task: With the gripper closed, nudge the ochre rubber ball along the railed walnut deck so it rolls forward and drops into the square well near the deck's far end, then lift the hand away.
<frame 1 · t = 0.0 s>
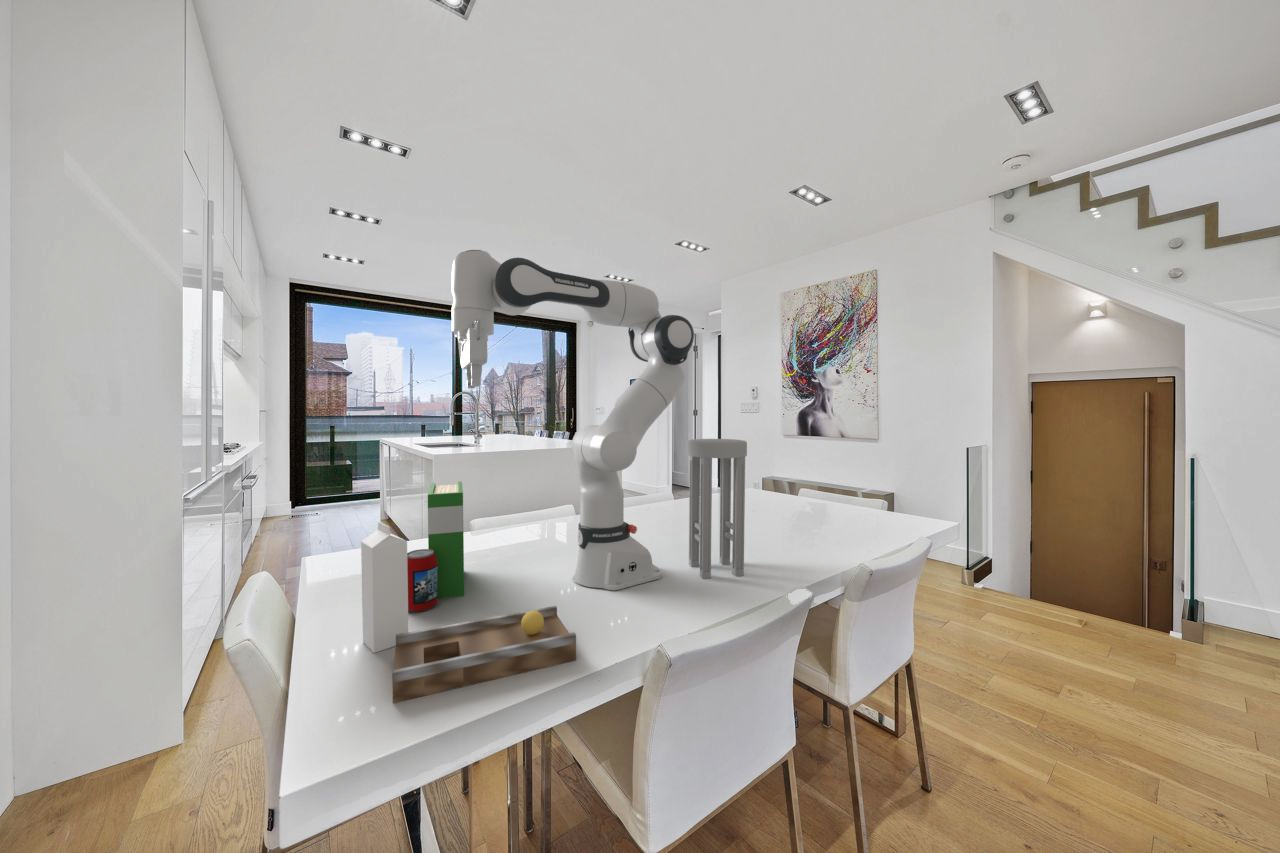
hand: (473, 387, 105), 48 cm above the table, fingers open, 8 cm apart
beverage can: (420, 608, 102), on the table
hardback book: (447, 585, 116), on the table
milk: (385, 642, 87), on the table
ball: (532, 622, 84), point 5 cm above the table, touching deck
deck: (486, 660, 81), on the table
stool: (715, 570, 127), on the table
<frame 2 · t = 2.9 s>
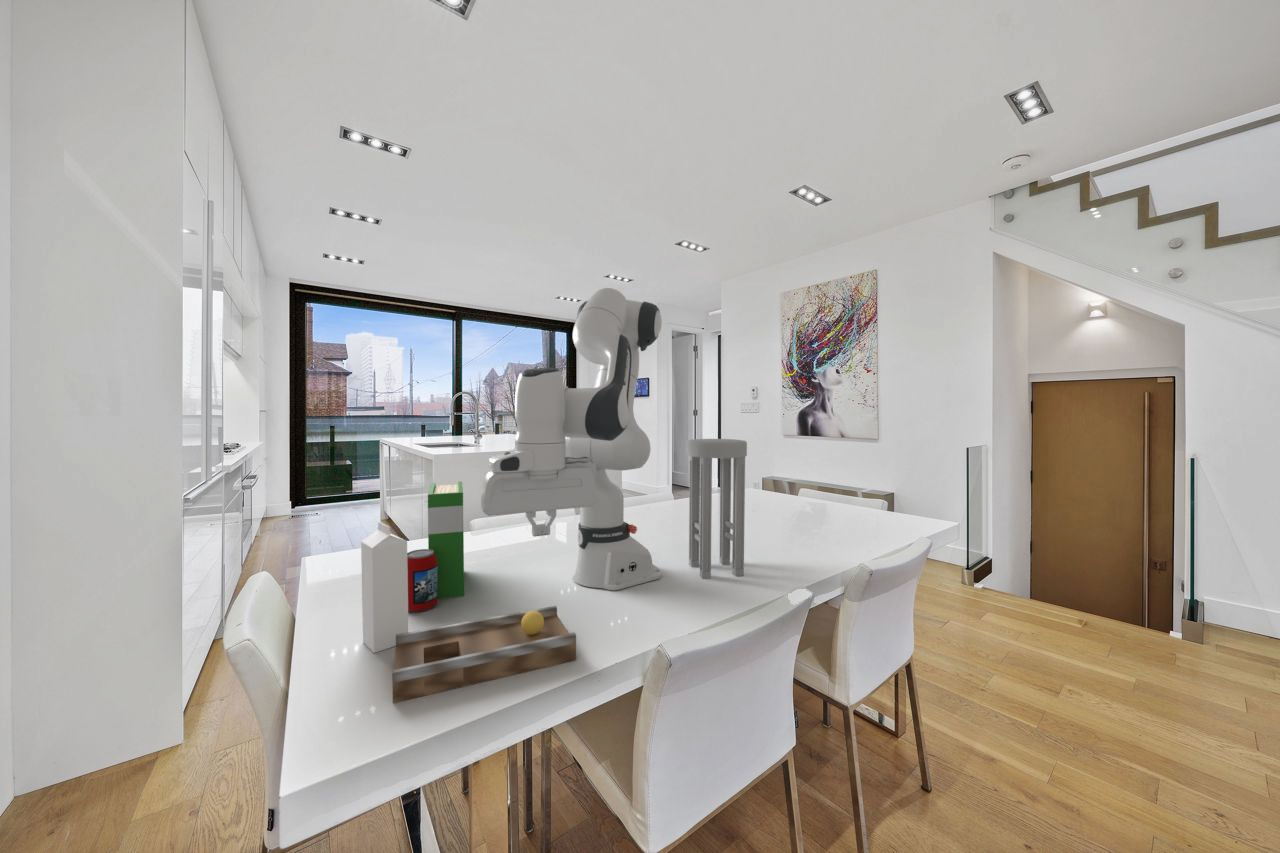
hand: (541, 535, 85), 21 cm above the table, fingers closed
nothing on the table moved.
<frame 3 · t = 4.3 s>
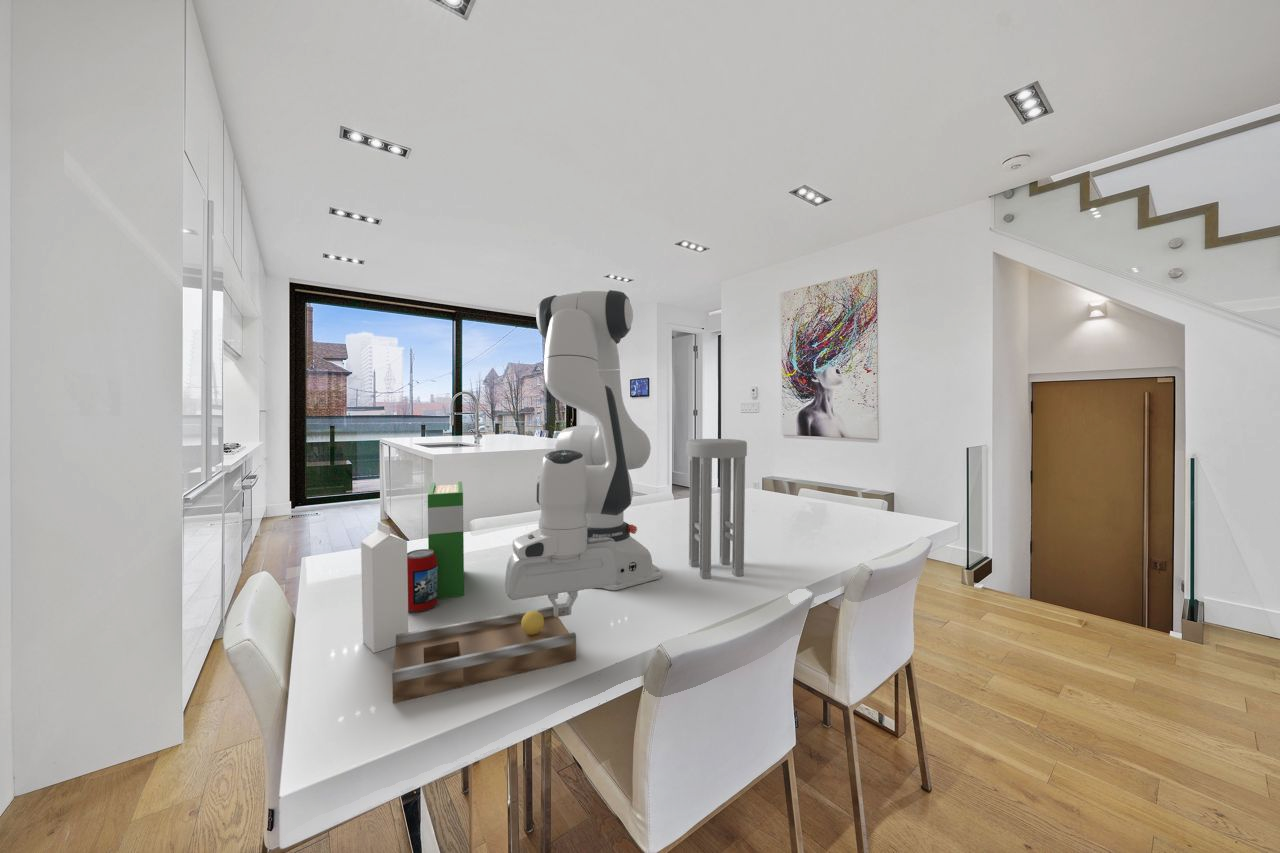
hand: (562, 615, 86), 5 cm above the table, fingers closed
nothing on the table moved.
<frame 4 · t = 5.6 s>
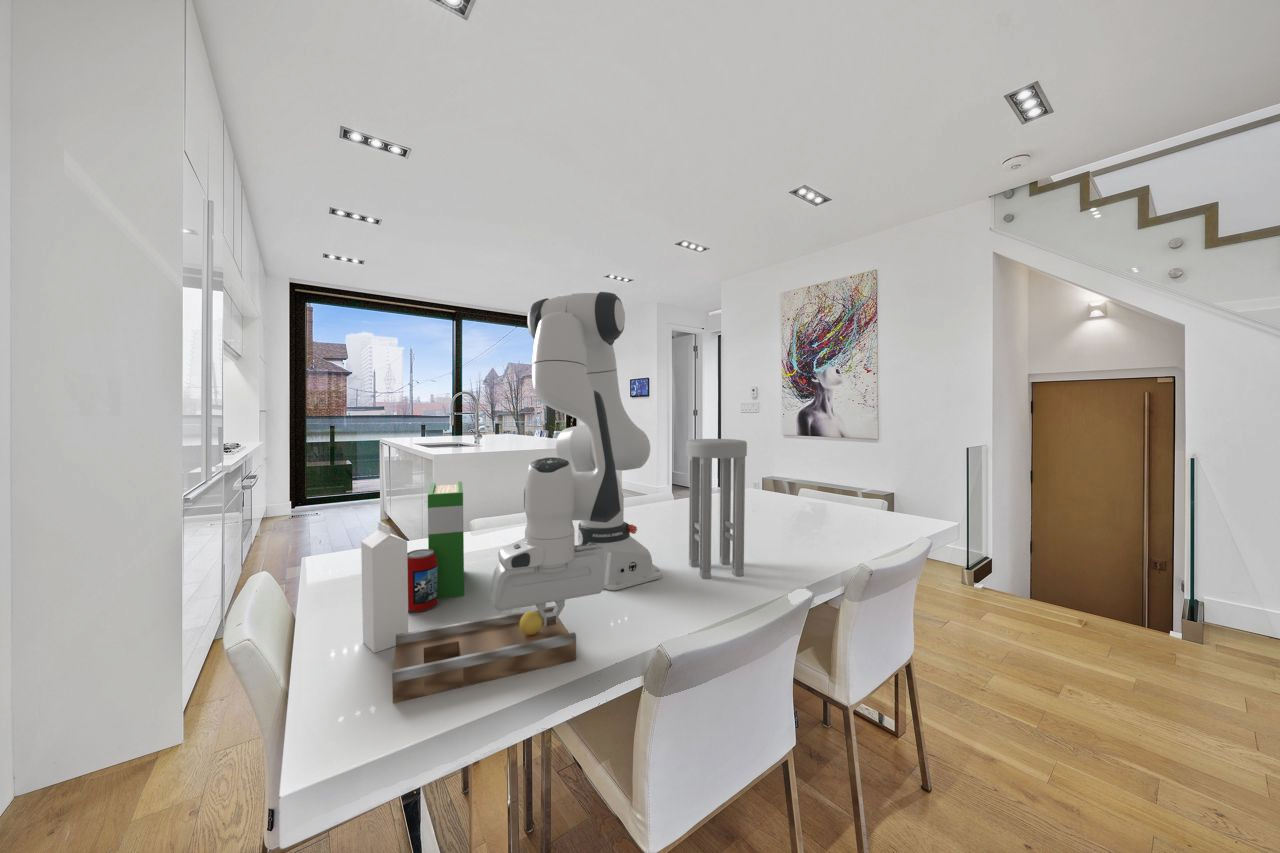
hand: (550, 624, 85), 4 cm above the table, fingers closed
ball: (531, 623, 84), point 5 cm above the table, tilted 8°, touching deck, gripper
everything else where it was.
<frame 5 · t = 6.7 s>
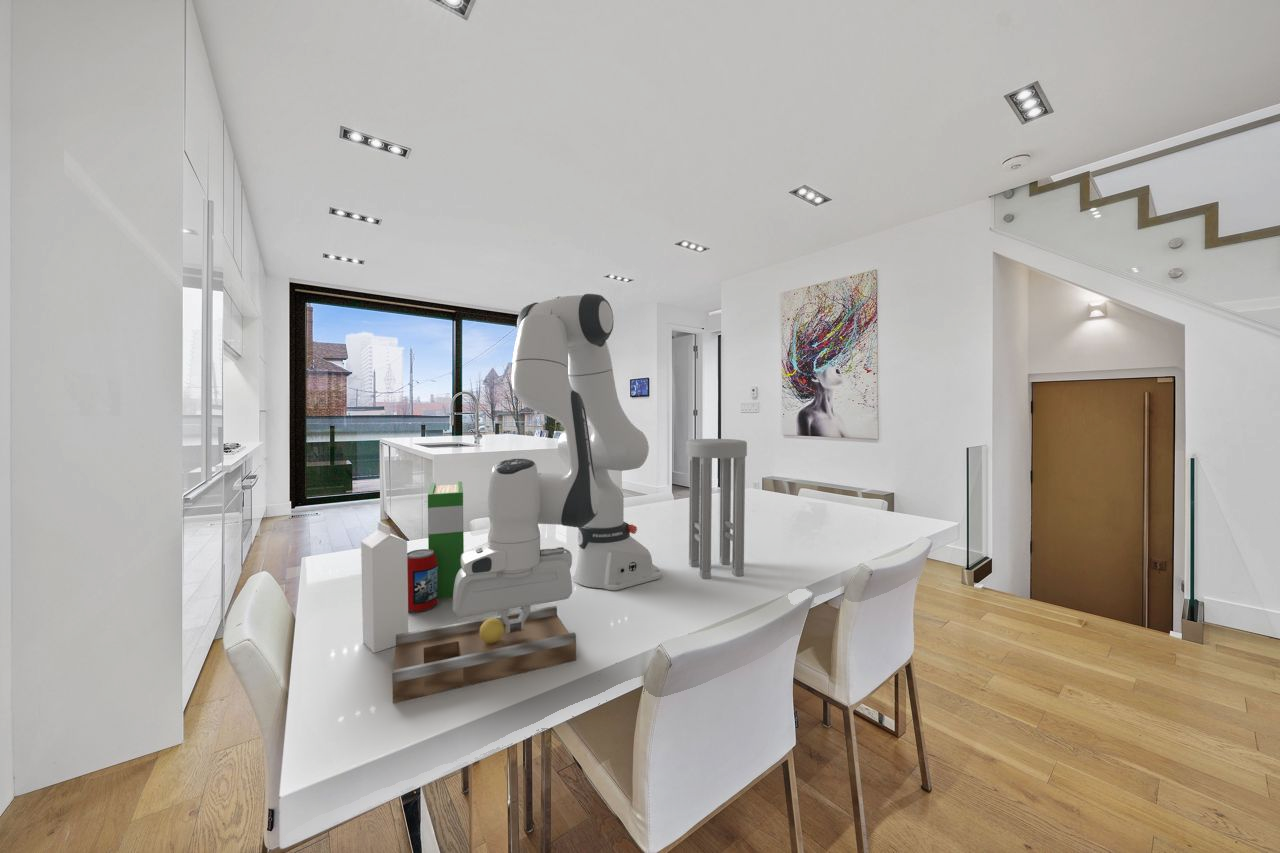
hand: (514, 630, 83), 4 cm above the table, fingers closed
ball: (491, 630, 81), point 5 cm above the table, tilted 158°, touching deck
everything else where it was.
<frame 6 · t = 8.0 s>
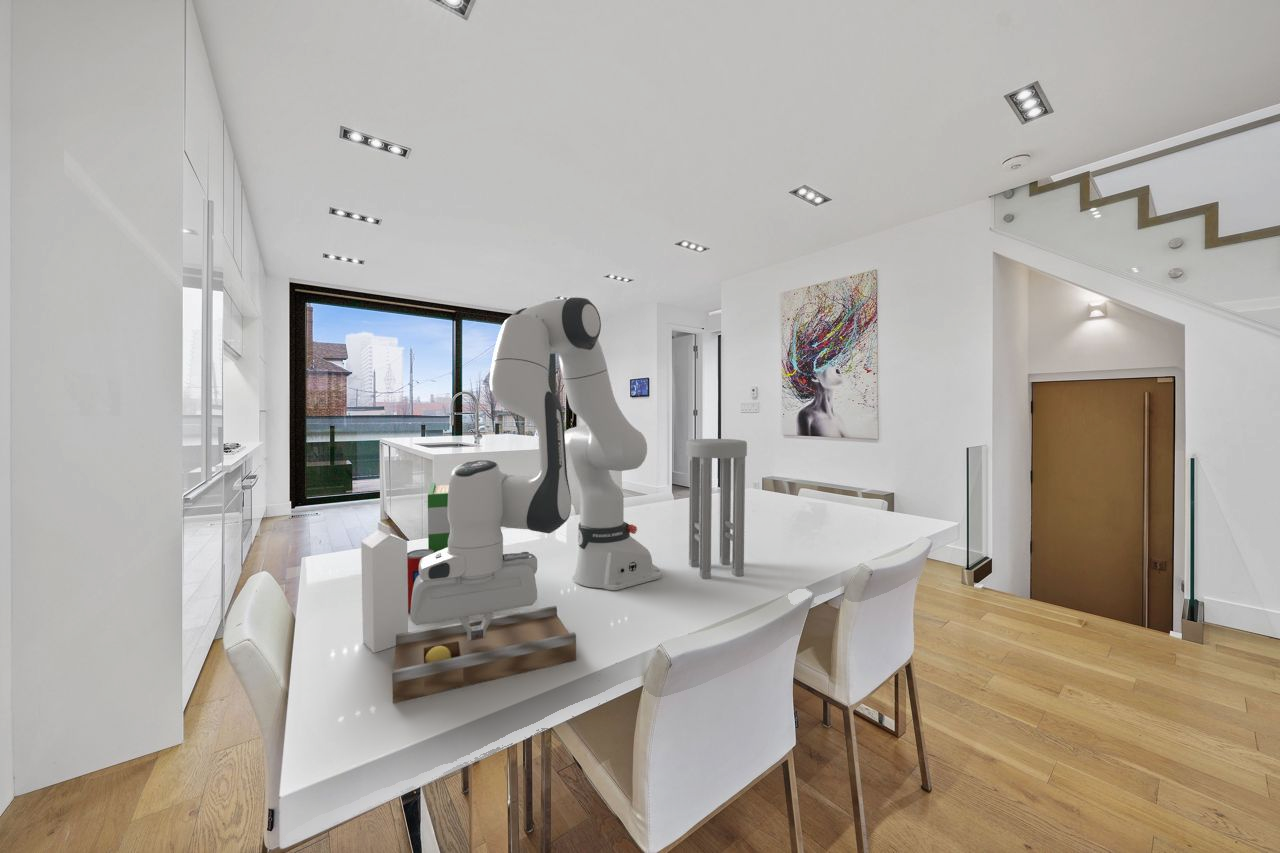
hand: (476, 638, 80), 4 cm above the table, fingers closed
ball: (438, 659, 77), point 2 cm above the table, tilted 122°
everything else where it was.
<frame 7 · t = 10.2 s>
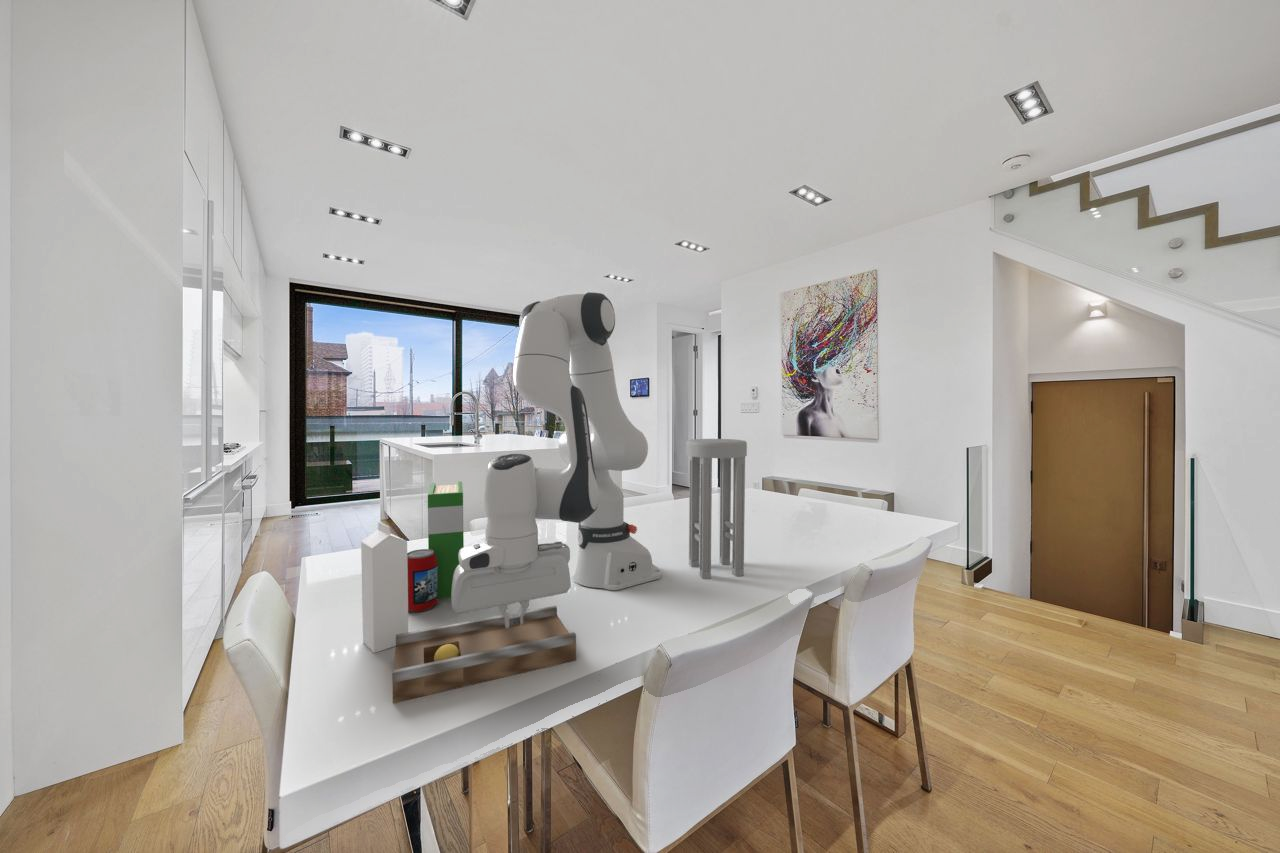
hand: (513, 625, 83), 5 cm above the table, fingers closed
ball: (447, 657, 78), point 2 cm above the table, tilted 83°
everything else where it was.
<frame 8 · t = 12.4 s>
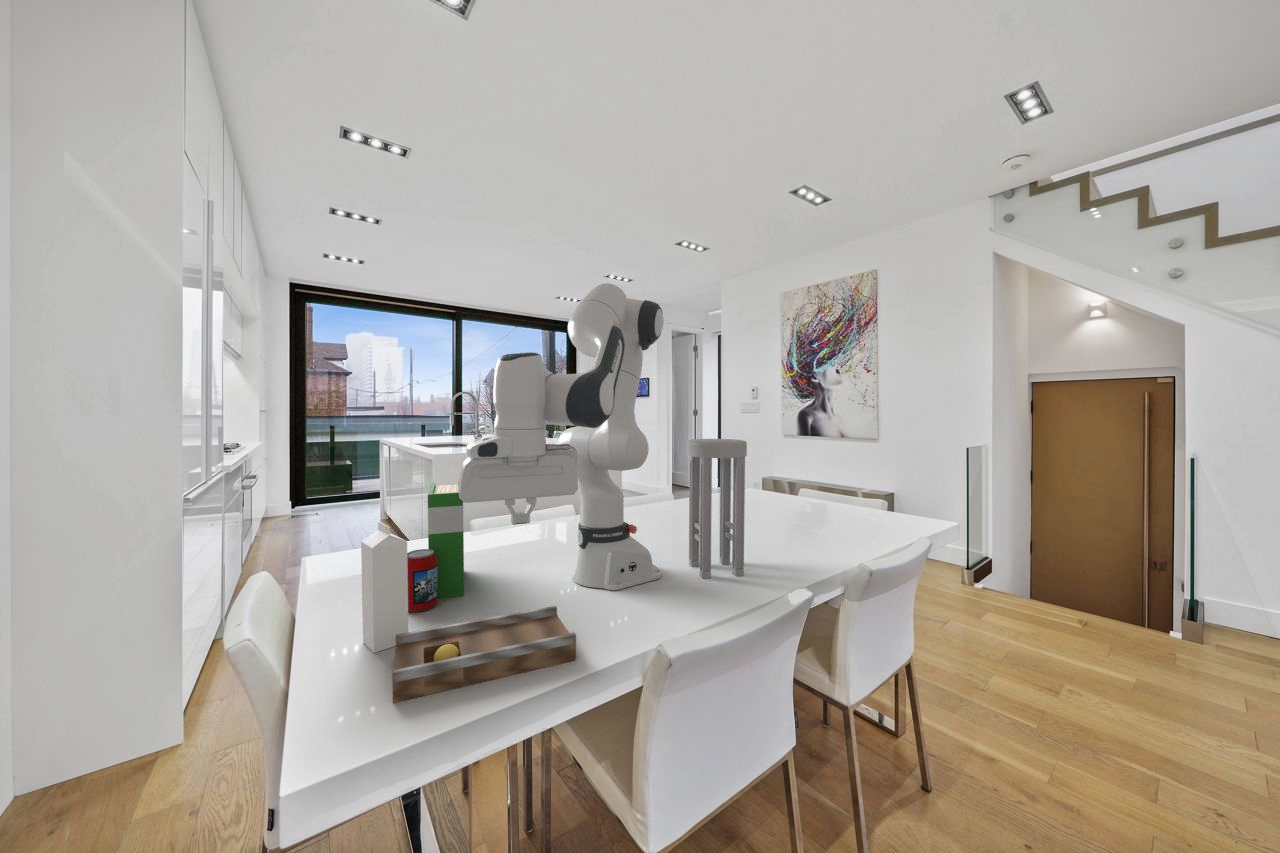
hand: (520, 523, 83), 23 cm above the table, fingers closed
nothing on the table moved.
at the end: ball 0.7 cm from the target spot in the deck, point 2.0 cm above the deck's base; ball touching table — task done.
